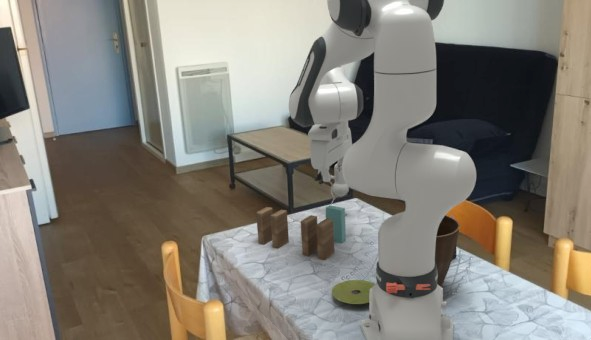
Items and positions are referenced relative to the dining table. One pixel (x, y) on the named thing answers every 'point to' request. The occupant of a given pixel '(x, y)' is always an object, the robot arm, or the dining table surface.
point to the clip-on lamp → (338, 186)
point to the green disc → (353, 291)
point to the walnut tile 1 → (264, 225)
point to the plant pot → (445, 246)
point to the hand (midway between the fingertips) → (333, 176)
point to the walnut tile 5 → (325, 239)
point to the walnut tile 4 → (309, 235)
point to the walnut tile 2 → (279, 228)
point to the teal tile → (337, 222)
